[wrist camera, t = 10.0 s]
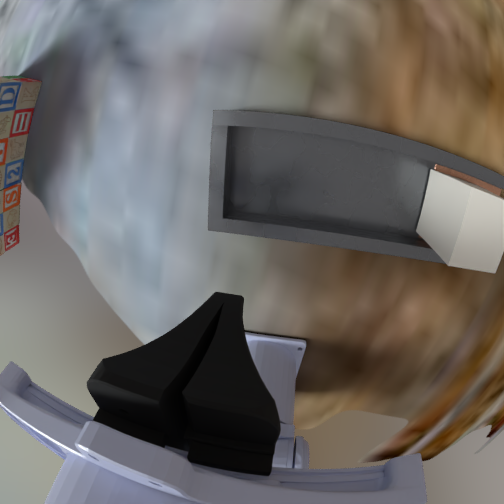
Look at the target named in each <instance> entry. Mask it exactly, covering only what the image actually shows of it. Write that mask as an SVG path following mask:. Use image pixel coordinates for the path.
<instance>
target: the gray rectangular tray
mask: <svg viewBox="0 0 504 504" xmlns="http://www.w3.org/2000/svg"><path fill="white" fill-rule="evenodd" d="M431 169H432V170H436V171H439V172H442V173H445V174H448V175H451V176H454V177H457V178H459V179H462V180H465V181H468V182H470V183H473V184H476V185H478V186H480V187H482V188H484V189H486V190H488V191H490V192H492V193H494V194H496V195H498V196H500V193H501V188H502V189H504V176H502V175H500V174H498V173H496V172H494V171H492V170H490V169H487V168H485V167H483V166H481V165H478V164H476V163H474V162H471V161H469V160H467V159H464V158H462V157H459V156H457V155H454V154H451V153H449V152H446V151H443V150H440V149H438V148H435V147H432V146H429V145H426V144H423V143H420V142H416V141H413V140H410V139H406V138H403V137H399V136H396V135H392V134H388V133H385V132H381V131H377V130H372V129H368V128H364V127H359V126H355V125H350V124H345V123H339V122H334V121H328V120H322V119H316V118H309V117H302V116H295V115H286V114H277V113H266V112H253V111H235V110H213V119H212V135H211V153H210V175H209V206H208V230H209V231H217V232H226V233H234V234H242V235H249V236H257V237H265V238H273V239H280V240H288V241H295V242H303V243H310V244H317V245H324V246H332V247H339V248H346V249H353V250H359V251H366V252H373V253H380V254H386V255H393V256H400V257H406V258H412V259H419V260H425V261H431V262H438V263H444V264H446V263H445V262H444V261H443V260H442V258H441V257H440V256H439V255H438V254H437V253H436V252H435V251H434V250H433V249H432V248H431V247H430V245H429V244H428V243H427V242H426V241H425V240H424V239H423V238H422V237H421V236H420V235H419V234H418V233H417V232H416V229H417V226H418V222H419V219H420V215H421V211H422V207H423V203H424V199H425V194H426V190H427V185H428V181H429V176H430V170H431Z"/></svg>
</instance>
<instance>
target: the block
mask: <svg viewBox="0 0 504 504" xmlns="http://www.w3.org/2000/svg"><path fill="white" fill-rule="evenodd" d="M416 232H417V233H418V234H419V235H420V236H421V237H422V238H423V239H424V240H425V241H426V242H427V243H428V244H429V245H430V247H431V248H432V249H433V250H434V251H435V252H436V253H437V254H438V255H439V256H440V257H441V258H442V260H443V261H444V262H445V263H446V264H447V265H448V266H453V267H459V268H465V269H471V270H477V271H483V272H489V273H496V270H497V268H498V265H499V263H500V260H501V258H502V255H503V252H504V198H502V197H500V196H498V195H496V194H494V193H492V192H490V191H488V190H486V189H484V188H482V187H480V186H478V185H476V184H473V183H470V182H468V181H465V180H462V179H459V178H457V177H454V176H451V175H448V174H445V173H442V172H439V171H436V170H432V169H431V170H430V176H429V181H428V185H427V190H426V194H425V199H424V203H423V207H422V211H421V215H420V219H419V222H418V226H417V229H416Z"/></svg>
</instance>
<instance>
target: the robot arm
mask: <svg viewBox="0 0 504 504" xmlns="http://www.w3.org/2000/svg"><path fill="white" fill-rule="evenodd" d="M243 304H244V298H243V297H242V296H240V295H234V294H227V293H221V292H215V293H214V294H213V295H212V296H211V297H210V298H209V299H208V300H207V301H206V302H205V303H204V304H203V305H201V306H200V307H199V308H198V309H197V310H196V311H195V312H194V313H193V314H191V315H190V316H189V317H188V318H187V319H185V320H184V321H183V322H181V323H180V324H179V325H178V326H176V327H175V328H173V329H172V330H170V331H169V332H167V333H166V334H164V335H163V336H161V337H159V338H157V339H155V340H153V341H151V342H149V343H148V344H146V345H143V346H141V347H139V348H136V349H134V350H131V351H128V352H126V353H123V354H120V355H116V356H112V357H109V358H105V359H103V360H102V361H101V362H100V364H99V365H98V366H97V368H96V369H95V371H94V372H93V374H92V375H91V377H90V378H89V380H88V381H87V388H88V390H89V392H90V394H91V396H92V397H93V399H94V400H95V402H96V403H97V405H98V406H99V410H98V412H97V413H96V415H95V417H92V416H90V415H88V414H86V413H84V412H82V411H80V410H79V409H77V408H75V407H73V406H71V405H69V404H68V403H66V402H64V401H62V400H60V399H59V398H57V397H55V396H54V395H52V394H50V393H49V392H47V391H46V390H44V389H43V388H41V387H39V386H38V385H36V384H35V383H33V382H32V381H31V379H30V377H29V376H28V374H27V373H26V372H25V371H24V370H23V369H22V368H20V367H19V366H18V365H16V364H15V363H14V362H12V361H11V362H10V363H9V364H8V365H7V366H6V368H5V369H4V370H3V371H2V373H1V374H0V407H1V408H2V409H3V410H4V411H5V413H6V414H7V415H8V416H9V417H10V418H11V419H12V420H13V421H15V422H16V423H17V424H18V425H20V427H22V428H23V429H24V430H25V431H26V432H28V433H29V434H30V435H32V436H33V437H34V438H35V439H37V440H38V441H39V442H40V443H42V444H43V445H45V446H46V447H47V448H49V449H50V450H51V451H53V452H54V453H56V454H57V455H58V456H60V457H61V458H63V459H64V460H65V462H64V463H63V465H62V467H61V469H60V471H59V473H58V475H57V477H56V479H55V481H54V483H53V485H52V488H51V490H50V492H49V494H48V496H47V498H46V500H45V503H44V504H425V503H426V502H427V495H426V486H425V478H424V471H423V465H422V459H421V454H420V453H417V454H412V455H406V456H400V457H396V458H393V459H391V460H389V461H388V462H387V463H386V464H385V465H380V466H371V467H360V468H344V469H309V444H308V442H307V441H306V440H304V438H303V437H302V436H296V438H295V444H294V430H295V426H294V425H293V419H294V402H295V380H296V377H297V374H298V371H299V368H300V364H301V361H302V358H303V355H304V352H305V348H306V341H305V340H300V339H292V338H283V337H276V336H268V335H261V334H254V333H248V332H245V331H244V325H243ZM299 347H301V348H299Z"/></svg>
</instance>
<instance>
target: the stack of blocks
mask: <svg viewBox="0 0 504 504" xmlns="http://www.w3.org/2000/svg"><path fill="white" fill-rule="evenodd" d="M41 84H42V81H39V80H35V79H31V78H25V77H22V76H3V77H0V256H1V255H2V254H4V253H5V251H7V250H9V249H10V248H12V247H14V246H15V245H16V244H18V243H19V215H20V205H19V204H20V194H21V180H22V170H23V163H24V155H25V148H26V142H27V137H28V133H29V129H30V124H31V120H32V116H33V111H34V107H35V104H36V101H37V97H38V94H39V90H40V87H41Z"/></svg>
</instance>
